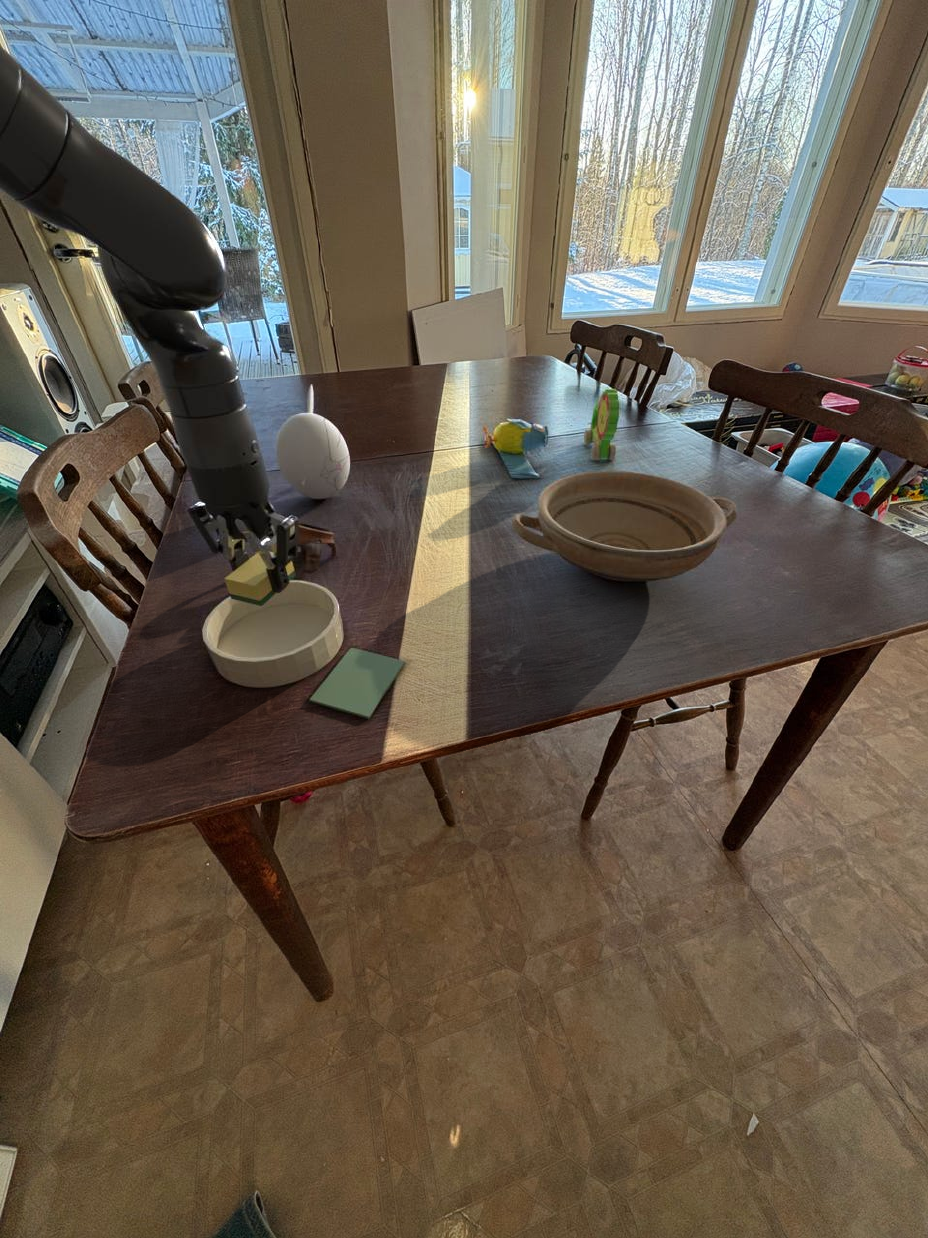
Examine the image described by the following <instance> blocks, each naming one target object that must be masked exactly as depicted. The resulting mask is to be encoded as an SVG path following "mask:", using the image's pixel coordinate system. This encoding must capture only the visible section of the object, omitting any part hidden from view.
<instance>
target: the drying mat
mask: <svg viewBox="0 0 928 1238" xmlns="http://www.w3.org/2000/svg"><path fill="white" fill-rule="evenodd" d="M405 664H406V661H405V660H402V659H398V658H394V657H390V656H386V655H382V654H378V653H375V652H371V651H366V650H363V649H359V648H355V647H350V648H349V649H348V651H347V652H345V654H344V656H343V657H342V658H341V659H340V660H339V662H338V663H337V664H336V666H335V667H334V668H333V670H331V672H330V673H329V674H328V676H327V677H326V678H325V680H324V681H323V682H322V683H321V684H320V685H319V687H318V688H317V689H316V691H315V692H314V693H313V694H312V695H311V697H310V698H309V702H310V703H313V704H317V705H319V706H324V707H327V708H331V709H334V710H337V711H341V712H344V713H347V714H351V715H354V716H358V717H361V718H364V719H368V720H369V719H370V717H372V715H373V713H374V711H375V710H376V708H377V707H378V706H379V704H380V702H381V700H382V699H383V698H384V697H385V695H386V694H387V692H388V690H389V689H390V687H391V686H392V684H393V683H394V681H395V680H396V678H397V676H398V675H399V673H400V672H401V670H402V669H403V667H404V666H405Z"/></svg>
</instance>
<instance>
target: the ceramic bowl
mask: <svg viewBox="0 0 928 1238" xmlns="http://www.w3.org/2000/svg"><path fill="white" fill-rule="evenodd" d="M537 509H538V516H536V517H534V516H529V515H525V514H521V513H519V514H515V515H514V516H513V517H512V520H511V526H512V528H513V530H514V532H515V533H516V534H517V535H518V536H519V537H520V538H521V539H522V540H523V541H525V542H527V543H529V544H531V545H533V546H535V547H537V548H541V549H544V550H547V551H550V552H552V553H553V552H554V553H556V554H557V556H559V557H560V558H562V559H563V560H565V561H566V562H568V563H569V564H571V565H572V566H574V567H576V568H578V569H581V570H582V571H584V572H587V573H590V574H593V575H595V576H598V577H601V578H603V579H606V580H611V581H616V582H617V581H618V582H653V581H660V580H666V579H671V578H674V577H678V576H680V575H683V574H685V573H687V572H689V571H691V570H694V569H695V568H697V567H698V566H701V564H703V563H704V561H706V560H708V558H709V557H711V555H712V554H713V553H714V551H715V549H716V548H717V546H718V545H719V543H720V541H721V538H722V537H723V535H724V534H725V532H726V529H727V528H728V527H729V526H730V525H732V524H733V523H734V522H735V521H736V519H737V518H738V516H739V515H738V514H739V511H738V508H737V506H736V504H735V503H734V501H732V500H730V499H727V498H724V497H714V498H711V497H709V496H708V495H707V494H705V493H704V492H703V491H700V490H698V489H696V488H694V487H693V486H690V485H688V484H686V483H683V482H680V481H676V480H674V479H671V478H667V477H663V476H659V475H655V474H651V473H644V472H639V471H638V472H637V471H626V470H596V471H586V472H580V473H576V474H571V475H568V476H565V477H561V478H559V479H557V480H555V481H553V482H552V483H550V484H548V485H547V486H546V487H545V488H544V489H543V490H542V491H541V493H540V494H539V496H538V499H537ZM723 510H725V511H727V512H728V514H725V512H724V511H723ZM530 529H532V530H534V531H538V532H540V533H541V534H542V535H541V534H539V533H536V532H534V531H532V530H530Z"/></svg>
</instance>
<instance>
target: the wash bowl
mask: <svg viewBox="0 0 928 1238" xmlns="http://www.w3.org/2000/svg"><path fill="white" fill-rule="evenodd" d="M201 631H202V640H203V643H204V645H205V648H206V650H207V652H208V654H209V657H210V659H211V661H212V664H213V665H214V667H215V669H216V671H217V672H218V673H219V675H220V676H222V677H223V678H224V679H225V680H227V681H229V682H230V683H233V684H235V685H239V686H243V687H247V688H262V689H263V688H264V689H265V688H274V687H280V686H284V685H289V684H293V683H295V682H299V681H301V680H303V679H305V678H308V677H310V676H312V675H314V674H315V673H317V672H319V671H320V670H321V669H323V668H325V667H326V665H328V664H329V663H330V662H331V661H332V660H333V659H334V658H335V657H336V655H337V654H338V652H339V651H340V649H341V647H342V644H343V641H344V625H343V619H342V614H341V610H340V604H339V602H338V600H337V598H336V596H335V595H334V593H332V592H331V591H330V590H329V589H328V588H326V587H324V586H322V585H320V584H318V583H315V582H311V581H305V580H299V579H298V580H297V579H291V580H290V581H289V584H288V585H287V587H286V588H285V589H284V590H283V591H282V592H280V593H276V594H275V595H274V596H272V597H271V598H270V599H269V600H268V601H267V602H266V603H265V604H264V605H263V606H259V605H255V604H251V603H247V602H242V601H238V600H234V599H231V596H230V595H229V596H228V597H227V598H225V599H224V600H222V601H221V602H220V603H219V604H217V605H216V606H215V607H214V608H213V609H212V610H211V612H210V613H209V614H208V616H207V617H206V619H205V621H204V623H203V626H202V629H201Z"/></svg>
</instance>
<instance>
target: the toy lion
mask: <svg viewBox="0 0 928 1238" xmlns="http://www.w3.org/2000/svg"><path fill="white" fill-rule="evenodd" d="M593 407H594V408H593V410H592V416H591V422H590V428H589V429H585V431H584V434H583V444H584V446H590V445H591V444H592V446H591V447H590V448H591V449H590V458H591V461H598V460H599V459H607V461H614V460H615V458H616V453H617V449H616V448H617V447H616V444H615V443H611V441H612V440H613V439H614V437H615V434H616V432H617V429H618V423H619V418H620V401H619V394H618V392H617V389H616V388H606V389H605V390H603V391H602V393H601V396H600V397H599V400H598V401H597V402H596V403H595V405H594V406H593Z"/></svg>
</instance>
